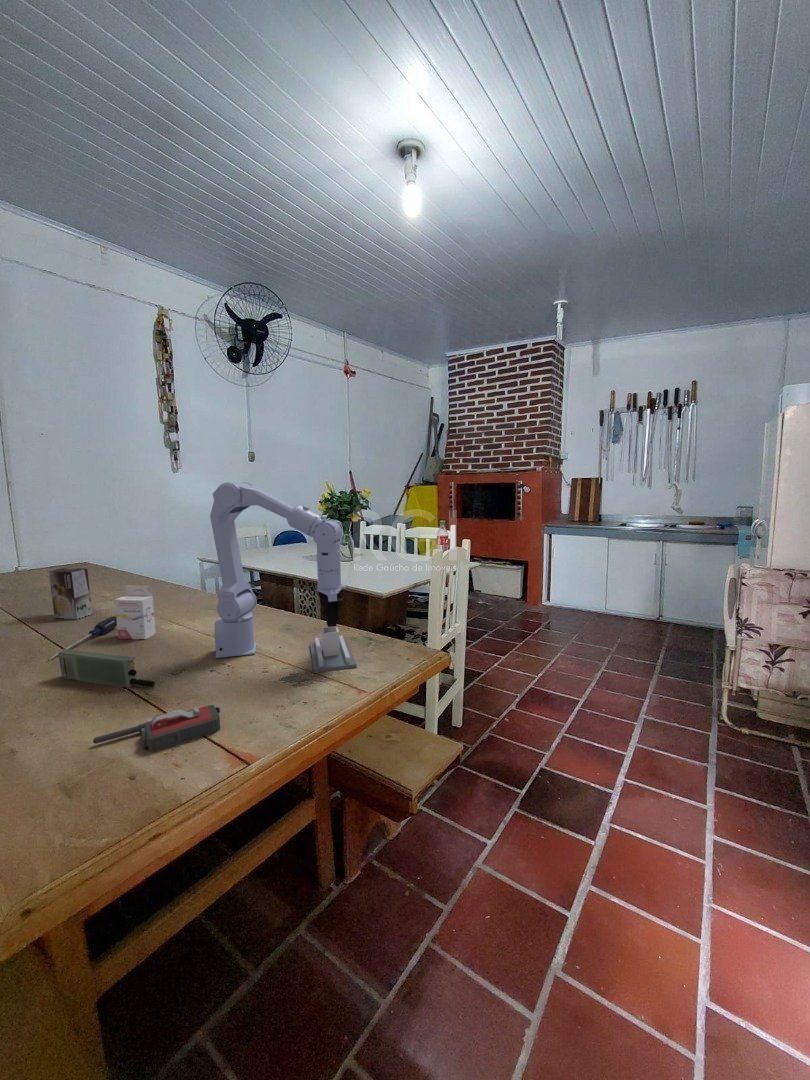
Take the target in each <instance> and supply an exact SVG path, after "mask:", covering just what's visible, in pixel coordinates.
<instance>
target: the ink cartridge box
mask: <svg viewBox="0 0 810 1080" xmlns="http://www.w3.org/2000/svg"><path fill="white" fill-rule="evenodd" d="M124 588H125V593H126V595H123V596H120V597H118V598H115V599H114V604H115V614H116V615H115V616H116V618H117V626H116V629H117V637H118V640H139V639H146V640H147V639H149V638H151V637H153V636H155V635H156V634H157V633H156V623H155V622H156V621H155V620H156V619H155V612H154V611H155V609H154V608H155V607H154V599H153V598H154V596H153V593H152V592H153V591H152V587H151V586H150V585H131V584H130V585H127V584H126V585H125V586H124ZM138 589H139V590H140V591H137V590H138ZM135 590H136V591H135ZM141 590H142V591H141ZM154 634H155V635H154Z"/></svg>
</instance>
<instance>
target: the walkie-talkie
mask: <svg viewBox="0 0 810 1080" xmlns="http://www.w3.org/2000/svg"><path fill="white" fill-rule="evenodd" d="M220 713H221V708H220V707H216V706H215V704H210V705H209V704H208V705H205V706H201V707H198V706H194V707H193V709H190V710H187V711H185V710H182V709H176V710H172V711H169V712H166V713H161V714H157V715H156V716H153V717H149V718H146V719H145V722H144V723H140V724H138V725H136V726H132V727H129V728H125V729H121V730H118V731H115V732H114V731H113V732H110V733H106V734H103V735H100V736H96V737H94V738H93V741H92V742H93V744H100V743H102V742H103V743H104V742H106V741H110V740H113V739H118V738H122V737H124V736H128V735H133V734H135V733H141V744H142V749H146V748H148V752H149V753H153V752H157V751H160V750H164V749H166V748H169V747H170V748H171V747H172V746H177V745H178V744H182V743H185V742H188V741H192V740H195V739H199V738H202V737H204V736H208V735H211V734H216V733H217V732H219V731H220V730H221V719H220Z"/></svg>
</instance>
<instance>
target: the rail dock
mask: <svg viewBox="0 0 810 1080" xmlns="http://www.w3.org/2000/svg"><path fill="white" fill-rule="evenodd" d="M309 646H310V647H309V648H310V654H311V662H312V668H313V673H320V672H330V671H339V670H347V669H354V668H358V667H357V661H356V660H355V657H354V654H353V652H352V649H351V647H350V644H349V641H348V639H347V638H344V636H343V635H342V634H341V635H340V634H339V647H340V655H333V656H323V651H322V640H321V641H320V638H319V637H315V638H314V641H312V642H309Z"/></svg>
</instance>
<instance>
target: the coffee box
mask: <svg viewBox="0 0 810 1080" xmlns="http://www.w3.org/2000/svg"><path fill="white" fill-rule="evenodd" d="M88 571H89V570H88V568H85V567H84V568H81V567H62V568H58V569H53V570H50V571H48V575H49V576H48V577H49V583H50V592H51V593H50V594H51V599H52V607H53V609H52V610H53V615H54V619H55V618H64V619H63V620H80V619H83V618H86V617H88V615H89V616H92V615H93V608H92V607H93V606H92V599H91V589H90V580H89V572H88ZM91 614H92V615H91ZM85 616H86V617H85ZM82 617H83V618H82ZM79 618H80V619H79Z"/></svg>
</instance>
